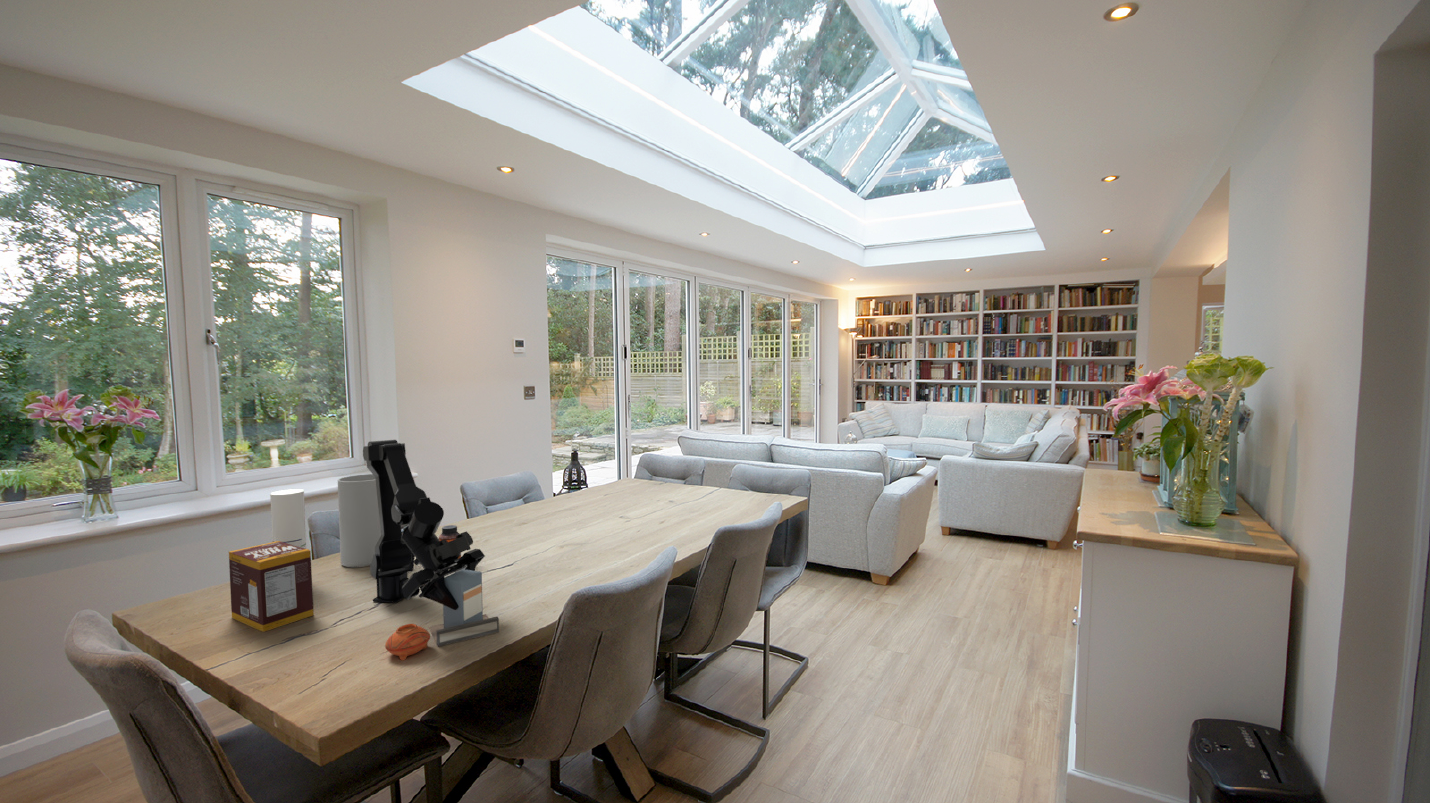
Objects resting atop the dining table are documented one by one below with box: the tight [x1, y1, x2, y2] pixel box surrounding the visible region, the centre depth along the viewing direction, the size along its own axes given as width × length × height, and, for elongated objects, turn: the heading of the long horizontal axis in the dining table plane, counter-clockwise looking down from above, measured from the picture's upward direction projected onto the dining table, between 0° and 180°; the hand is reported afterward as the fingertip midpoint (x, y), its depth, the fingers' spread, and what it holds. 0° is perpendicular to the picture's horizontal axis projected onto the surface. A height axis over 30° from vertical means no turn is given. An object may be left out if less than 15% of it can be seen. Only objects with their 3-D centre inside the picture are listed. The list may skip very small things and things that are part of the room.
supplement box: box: [228, 541, 315, 633], centre depth 138 cm, size 10×15×16 cm
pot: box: [384, 623, 431, 661], centre depth 119 cm, size 8×8×7 cm
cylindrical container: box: [269, 488, 307, 549], centre depth 157 cm, size 7×7×25 cm
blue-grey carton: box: [442, 569, 484, 628], centre depth 128 cm, size 5×6×12 cm
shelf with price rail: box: [428, 613, 500, 648], centre depth 129 cm, size 11×12×4 cm
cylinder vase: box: [337, 473, 381, 568], centre depth 177 cm, size 12×12×25 cm
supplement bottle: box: [438, 524, 462, 562], centre depth 174 cm, size 6×6×11 cm
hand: (468, 602), depth 128 cm, fingers closed on blue-grey carton, 6 cm apart
